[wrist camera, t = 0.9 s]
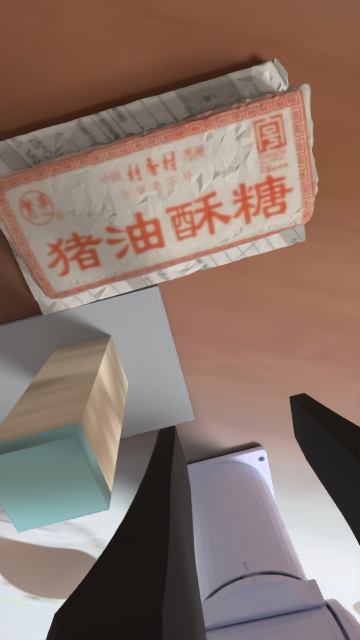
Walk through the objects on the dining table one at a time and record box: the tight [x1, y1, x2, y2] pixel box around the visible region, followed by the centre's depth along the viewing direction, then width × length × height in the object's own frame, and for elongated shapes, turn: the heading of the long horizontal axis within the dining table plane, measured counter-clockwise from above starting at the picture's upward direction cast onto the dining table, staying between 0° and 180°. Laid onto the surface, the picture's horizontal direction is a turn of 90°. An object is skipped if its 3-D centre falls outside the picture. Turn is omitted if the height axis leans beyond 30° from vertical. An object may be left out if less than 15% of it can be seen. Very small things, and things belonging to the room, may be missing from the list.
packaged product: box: [0, 59, 318, 316], centre depth 17 cm, size 18×5×10 cm
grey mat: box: [0, 284, 195, 439], centre depth 22 cm, size 11×22×1 cm, turn 104°
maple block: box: [0, 335, 128, 532], centre depth 17 cm, size 4×4×10 cm
